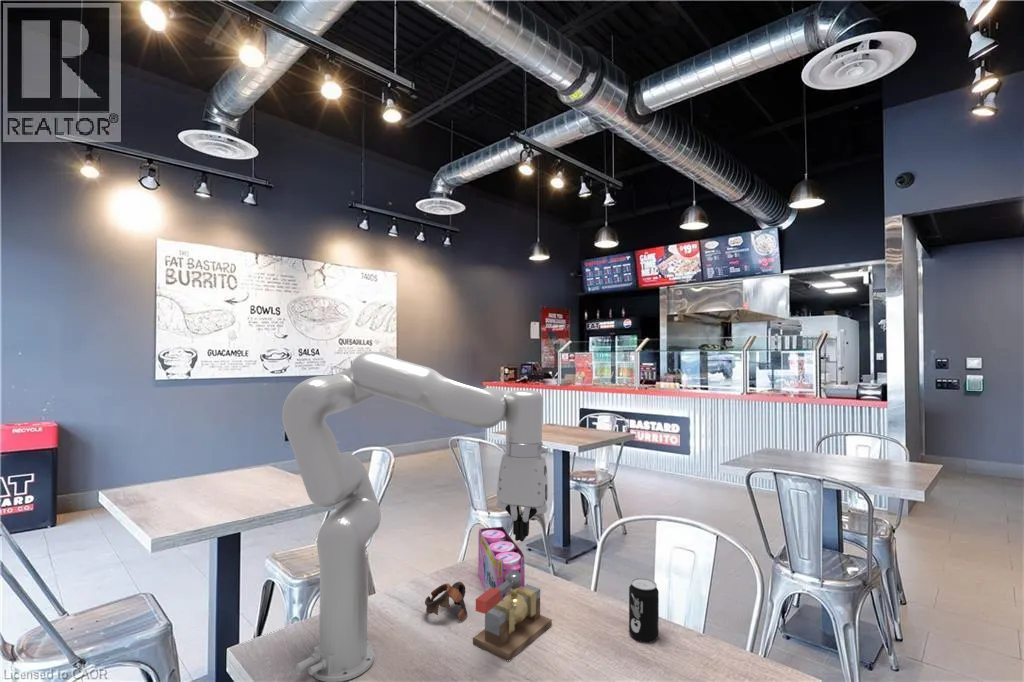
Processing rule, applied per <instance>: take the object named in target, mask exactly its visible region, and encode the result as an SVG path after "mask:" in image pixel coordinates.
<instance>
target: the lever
mask: <svg viewBox="0 0 1024 682" xmlns="http://www.w3.org/2000/svg"><path fill="white" fill-rule="evenodd" d="M520 586H521V573H520V572H517V571H511V572H509V573H508V580H506V581H505V582H504V583H502V584H501V585H500V586H499V587H497V588H496V589H495V588H492V587H491V588H490V589H488V590H487V591H485V592H483V593H482V594H480V595H479V596H478V597H477V598H475V612H478V613H481V614H484V615H485V614H486V613H487V612H488V611H490V610H491V609H492V608H493V607H494V606H496V605H497V604H498V603H499V602H500V601H501V596H502V595H503V594H504V593H505V592H506V591H508V590H509V589H510V588H513V589H515V588H519V587H520Z"/></svg>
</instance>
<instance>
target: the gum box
mask: <svg viewBox="0 0 1024 682" xmlns="http://www.w3.org/2000/svg"><path fill="white" fill-rule="evenodd" d="M477 549H478V555H477V556H478V557H477V559H478V560H477V561H478V567H477V569H478V573H477V574H478V577H479V580H480V582H482V583H481V584H482V587H483V586H484V587H483V589H484V591H485V592H486V591H487V590H488V589H490V588H491V587H492V588H495V589H496V588H497V587H499V586H500V585H501V584H502V583H504V582H505V581H506V580H508V573H509V572H511V571H517V572H520V573H521V586H522V587H523V586H525V585H526V584H525V581H526V579H525V577H526V576H525V573H526V572H525V555H524V553H523V551H522V549H521V548H520V547H519V546H518V545H517V544H516V541H515V540H513V539H512V537H511V536H510V534H509V533H508V532H507V530H506V529H505V527H504V526H496V527H484V528H483V527H482V528H478V548H477ZM509 593H511V588H510V589H509V590H508V591H506V592H505V593H504V594H503V595H502V596H501V600H503V598H504V597H505V596H506V595H507V594H509Z"/></svg>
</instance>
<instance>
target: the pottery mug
mask: <svg viewBox="0 0 1024 682" xmlns="http://www.w3.org/2000/svg"><path fill="white" fill-rule="evenodd" d="M442 593H443V594H442ZM430 595H431V596H429V595H428V596H427V597H426V598H425V600H424V604H425V606H426V609H425V610H426V614H427V615H428V614H435V615H436V616H438V615H439V609H440V607H441V608H443V609H444V608H445V609H449V608H451V604H450V599H452V601H453V604H454V605H455V606H460V608H461V609H460V611H459V612H458V613H457V617H458V619H459V621H460V622H459V623H463V622H464V621H465V619H467V617H468V616H467V615H468V611H467V608H466V603H465V595H466V586H465V584H464V583H463V582H462V581H457V582H455V583H453V585H451V584H450V583H443V584H441V585H438V586H437V588H435V589H434V590H433V591H431V593H430ZM439 595H440V596H439ZM438 596H439V597H438ZM437 597H438V598H437Z"/></svg>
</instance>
